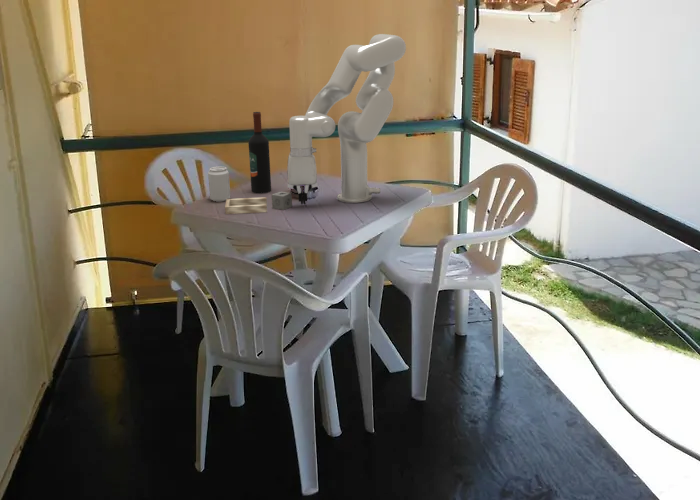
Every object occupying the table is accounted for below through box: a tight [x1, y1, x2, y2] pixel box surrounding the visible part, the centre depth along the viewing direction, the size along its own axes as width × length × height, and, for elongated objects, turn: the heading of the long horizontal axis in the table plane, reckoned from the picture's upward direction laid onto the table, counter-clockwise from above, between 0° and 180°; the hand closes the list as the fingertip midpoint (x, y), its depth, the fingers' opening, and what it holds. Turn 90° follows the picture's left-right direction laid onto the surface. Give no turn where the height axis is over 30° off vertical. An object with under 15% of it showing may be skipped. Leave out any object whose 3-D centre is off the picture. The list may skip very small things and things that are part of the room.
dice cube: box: [271, 191, 293, 211], centre depth 257 cm, size 5×5×5 cm
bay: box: [224, 196, 268, 215], centre depth 256 cm, size 14×10×2 cm
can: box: [207, 165, 231, 203], centre depth 266 cm, size 8×8×12 cm
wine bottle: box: [247, 111, 272, 194], centre depth 274 cm, size 8×8×30 cm
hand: (303, 203), depth 258 cm, fingers closed
